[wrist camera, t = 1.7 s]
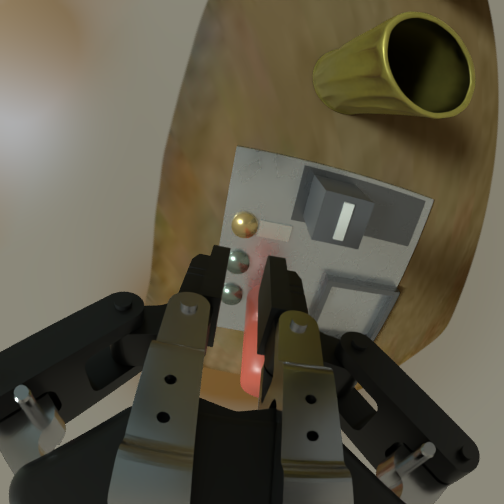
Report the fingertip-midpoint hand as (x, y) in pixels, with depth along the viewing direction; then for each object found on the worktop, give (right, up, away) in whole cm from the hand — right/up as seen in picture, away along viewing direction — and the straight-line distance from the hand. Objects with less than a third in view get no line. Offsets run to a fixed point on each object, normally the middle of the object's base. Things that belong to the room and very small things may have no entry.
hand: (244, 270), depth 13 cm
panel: (+7, 0, +17) cm, 18 cm away
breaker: (+7, +6, +13) cm, 16 cm away
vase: (+8, +16, +9) cm, 20 cm away
